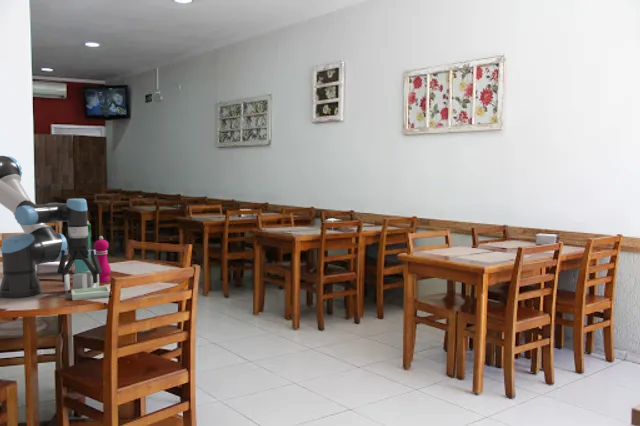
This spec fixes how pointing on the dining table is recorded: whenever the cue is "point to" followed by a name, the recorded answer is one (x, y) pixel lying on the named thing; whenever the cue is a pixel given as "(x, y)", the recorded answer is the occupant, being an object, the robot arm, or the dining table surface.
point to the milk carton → (80, 264)
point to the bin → (90, 293)
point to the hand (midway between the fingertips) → (80, 290)
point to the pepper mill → (102, 259)
